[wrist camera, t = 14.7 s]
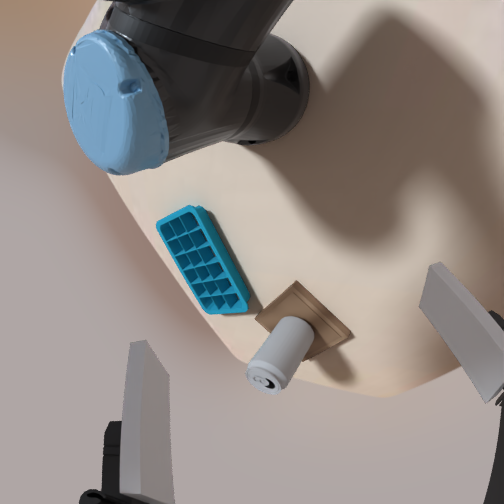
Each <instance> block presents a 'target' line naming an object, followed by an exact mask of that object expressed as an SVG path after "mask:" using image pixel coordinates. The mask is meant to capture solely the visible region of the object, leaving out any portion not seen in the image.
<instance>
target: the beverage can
mask: <svg viewBox="0 0 504 504" xmlns="http://www.w3.org/2000/svg"><path fill="white" fill-rule="evenodd" d="M313 340H314V332H313V329H312V328H311V326H310V325H309V324H308V323H307V322H306V321H304V320H303V319H300V318H298V317H294V316H287V317H284V318H282V319H281V320H280V321H279V323H278V324H277V325H276V327H275V328H274V330H273V331H272V332H271V334H270V335H269V336H268V338H267V339H266V341H265V342H264V343H263V345H262V346H261V347H260V349H259V350H258V351H257V353H256V354H255V355H254V357H253V358H252V359H251V361H250V362H249V364H248V369H247V371H246V373H245V374H246V377H247V379H248V381H249V382H250V383H251V384H252V385H253V386H254V387H255V388H257V389H258V390H260V391H262V392H264V393H268V394H278V393H279V392H280V391H281V390H282V389H284V388H285V387H286V386H287V385H288V383H289V382H290V380H291V378H292V377H293V375H294V373H295V372H296V370H297V368H298V367H299V365H300V363H301V361H302V360H303V358H304V356H305V354H306V353H307V351H308V349H309V347H310V346H311V344H312V342H313Z"/></svg>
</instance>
